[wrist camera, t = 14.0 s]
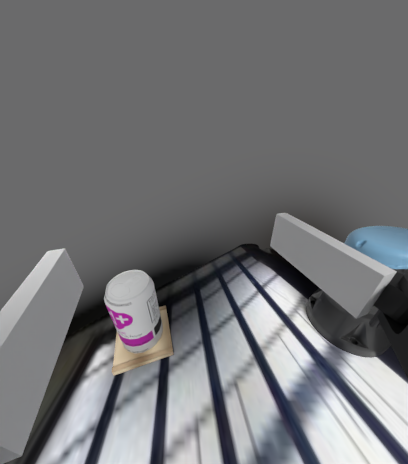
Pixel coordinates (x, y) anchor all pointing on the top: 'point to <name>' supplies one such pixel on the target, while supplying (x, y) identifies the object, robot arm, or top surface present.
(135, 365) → the trivet
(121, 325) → the supplement can
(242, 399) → the top surface
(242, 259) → the top surface
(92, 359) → the top surface
